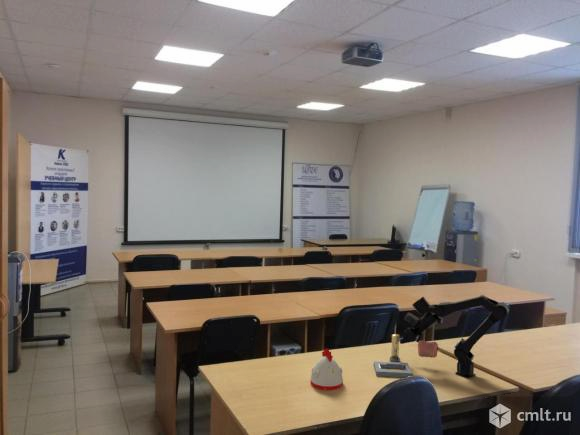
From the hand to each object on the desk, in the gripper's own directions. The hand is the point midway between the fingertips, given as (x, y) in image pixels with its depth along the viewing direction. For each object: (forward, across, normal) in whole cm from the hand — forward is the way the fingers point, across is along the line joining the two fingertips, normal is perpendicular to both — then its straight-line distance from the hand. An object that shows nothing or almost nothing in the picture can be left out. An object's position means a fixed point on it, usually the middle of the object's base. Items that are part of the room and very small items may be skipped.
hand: (403, 340), depth 221 cm
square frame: (+8, +14, +7) cm, 18 cm away
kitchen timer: (+22, +43, -6) cm, 49 cm away
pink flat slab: (+4, -28, +12) cm, 30 cm away
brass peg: (+10, 0, +5) cm, 11 cm away
